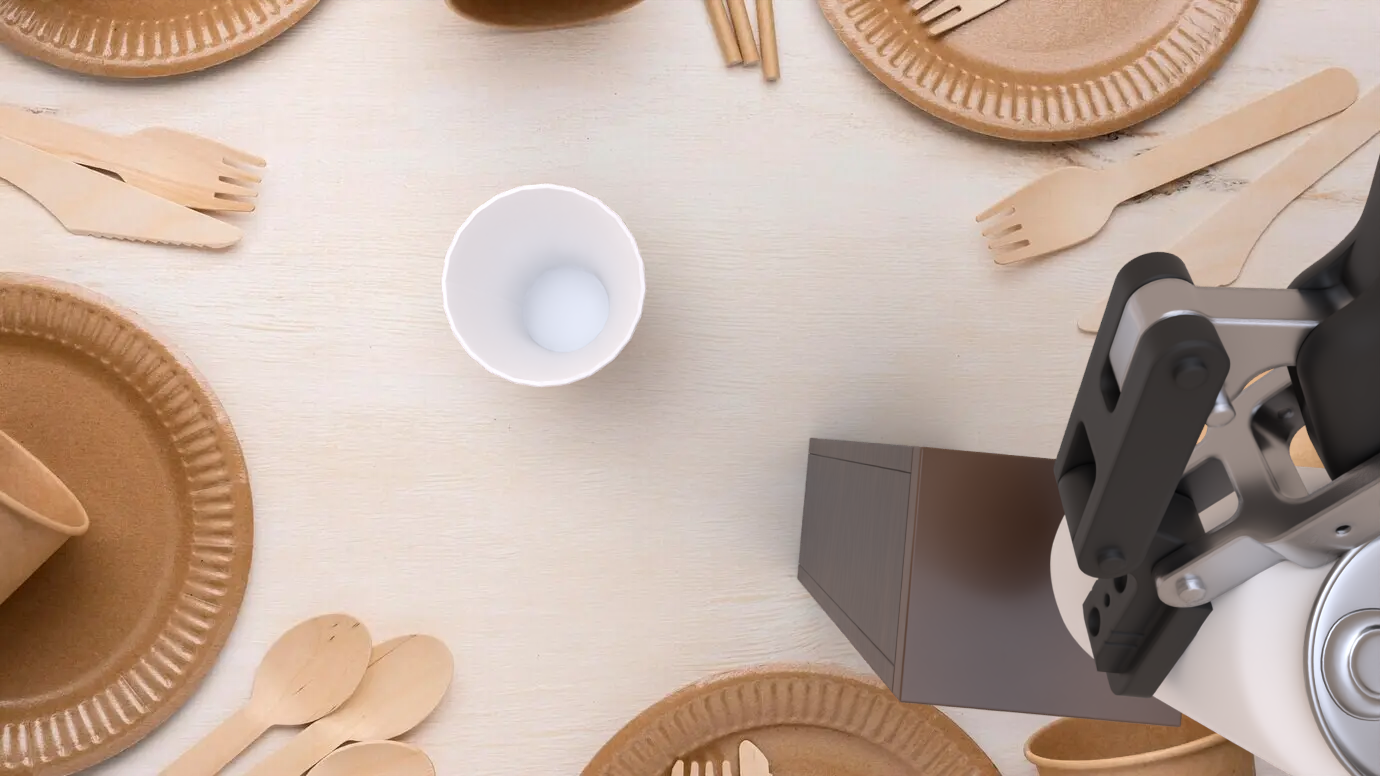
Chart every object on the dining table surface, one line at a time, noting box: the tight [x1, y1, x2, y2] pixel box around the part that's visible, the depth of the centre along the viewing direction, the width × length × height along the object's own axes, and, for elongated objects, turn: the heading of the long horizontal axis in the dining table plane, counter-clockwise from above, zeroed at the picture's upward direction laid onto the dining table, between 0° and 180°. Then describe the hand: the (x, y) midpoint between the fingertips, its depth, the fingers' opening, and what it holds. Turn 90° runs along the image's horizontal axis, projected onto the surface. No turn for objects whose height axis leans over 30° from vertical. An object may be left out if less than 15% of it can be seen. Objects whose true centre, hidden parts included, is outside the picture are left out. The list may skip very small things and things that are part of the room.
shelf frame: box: [797, 437, 916, 694], centre depth 53 cm, size 10×9×29 cm
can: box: [1050, 465, 1380, 776], centre depth 24 cm, size 6×6×12 cm
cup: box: [440, 182, 648, 388], centre depth 60 cm, size 10×10×14 cm
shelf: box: [892, 445, 1183, 728], centre depth 38 cm, size 10×9×1 cm
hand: (1272, 676), depth 24 cm, fingers closed on can, 6 cm apart
